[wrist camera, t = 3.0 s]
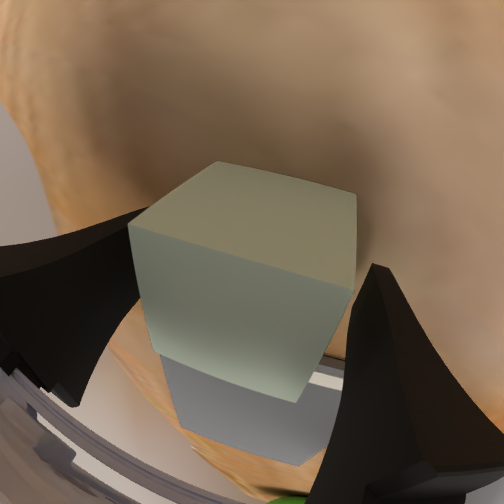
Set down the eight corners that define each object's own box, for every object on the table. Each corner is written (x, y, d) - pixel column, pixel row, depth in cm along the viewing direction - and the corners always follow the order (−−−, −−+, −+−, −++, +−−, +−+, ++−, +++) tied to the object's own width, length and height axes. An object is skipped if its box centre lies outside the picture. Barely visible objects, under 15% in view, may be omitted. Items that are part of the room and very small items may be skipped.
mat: (396, 373, 13) (396, 383, 12) (300, 461, 25) (298, 467, 25) (154, 298, 16) (147, 306, 15) (183, 423, 28) (180, 427, 27)
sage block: (356, 193, 9) (354, 290, 5) (320, 300, 12) (295, 403, 8) (217, 160, 10) (127, 224, 6) (212, 267, 13) (153, 351, 9)
